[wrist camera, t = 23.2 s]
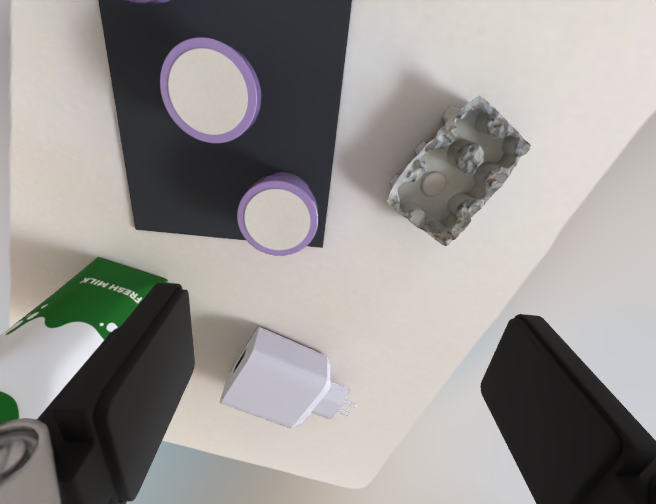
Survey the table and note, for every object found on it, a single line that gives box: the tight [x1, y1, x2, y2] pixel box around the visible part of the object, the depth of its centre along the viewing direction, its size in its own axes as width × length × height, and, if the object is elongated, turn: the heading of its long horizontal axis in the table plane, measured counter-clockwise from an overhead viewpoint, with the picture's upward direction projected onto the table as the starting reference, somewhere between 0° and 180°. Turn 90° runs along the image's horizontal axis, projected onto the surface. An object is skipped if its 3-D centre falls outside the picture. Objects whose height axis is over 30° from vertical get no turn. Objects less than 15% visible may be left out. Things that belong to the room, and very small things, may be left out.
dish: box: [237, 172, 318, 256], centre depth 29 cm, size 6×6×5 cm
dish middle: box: [160, 37, 261, 143], centre depth 24 cm, size 6×6×5 cm
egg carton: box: [386, 96, 531, 246], centre depth 28 cm, size 11×8×4 cm
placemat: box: [99, 0, 352, 248], centre depth 27 cm, size 26×18×1 cm
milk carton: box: [0, 257, 168, 423], centre depth 27 cm, size 9×9×20 cm
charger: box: [219, 327, 357, 428], centre depth 39 cm, size 5×9×15 cm
